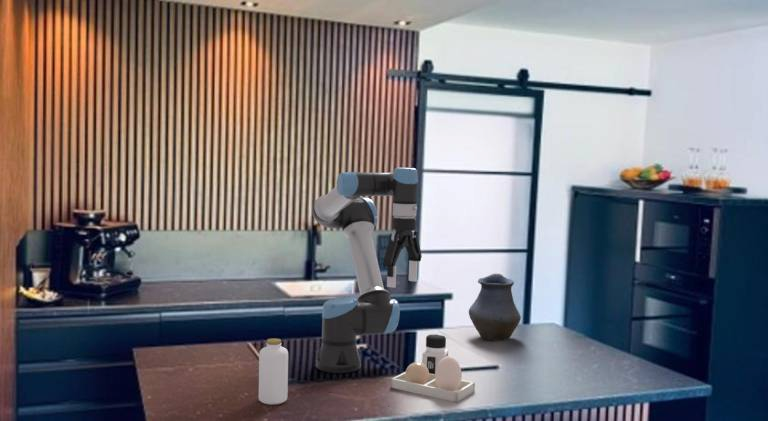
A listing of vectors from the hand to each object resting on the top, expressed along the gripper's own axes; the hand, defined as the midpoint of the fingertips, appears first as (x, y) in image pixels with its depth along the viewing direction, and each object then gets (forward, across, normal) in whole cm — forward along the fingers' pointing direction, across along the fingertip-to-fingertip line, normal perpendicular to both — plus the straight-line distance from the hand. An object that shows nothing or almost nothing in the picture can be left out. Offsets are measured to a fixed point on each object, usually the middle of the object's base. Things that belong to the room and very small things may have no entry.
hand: (402, 284), depth 231 cm
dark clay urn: (+32, +72, -2) cm, 79 cm away
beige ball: (+31, -2, -8) cm, 32 cm away
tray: (+32, -2, -13) cm, 34 cm away
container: (+32, +15, -5) cm, 36 cm away
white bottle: (+32, -37, +21) cm, 53 cm away
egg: (+31, -2, -18) cm, 36 cm away
